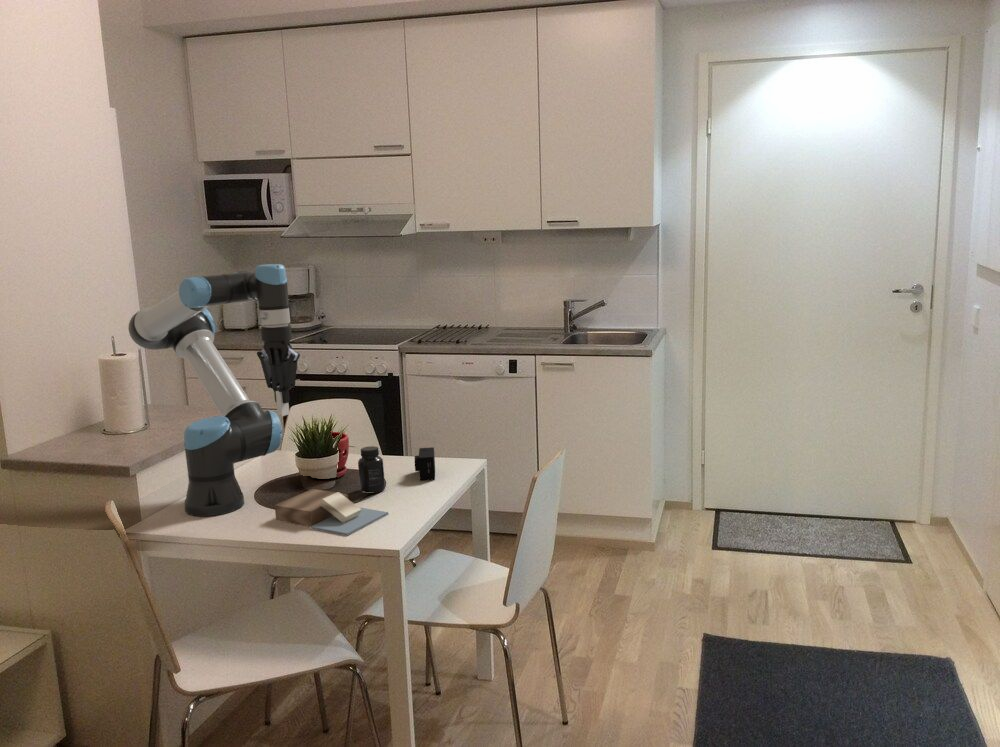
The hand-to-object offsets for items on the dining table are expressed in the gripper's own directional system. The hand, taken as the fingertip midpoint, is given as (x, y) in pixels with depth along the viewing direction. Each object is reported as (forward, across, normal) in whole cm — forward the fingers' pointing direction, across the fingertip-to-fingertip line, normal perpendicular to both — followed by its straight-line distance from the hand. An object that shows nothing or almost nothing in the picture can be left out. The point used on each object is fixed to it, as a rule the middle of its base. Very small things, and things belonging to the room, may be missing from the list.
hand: (283, 414), depth 233 cm
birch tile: (+22, +20, -4) cm, 30 cm away
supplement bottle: (+25, +13, +18) cm, 33 cm away
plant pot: (+25, -8, +24) cm, 35 cm away
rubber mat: (+24, +23, -4) cm, 34 cm away
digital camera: (+25, +19, +35) cm, 47 cm away
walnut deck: (+24, +11, -4) cm, 27 cm away
